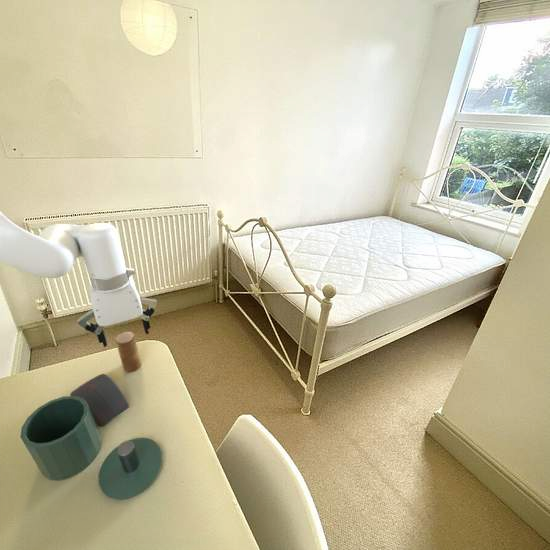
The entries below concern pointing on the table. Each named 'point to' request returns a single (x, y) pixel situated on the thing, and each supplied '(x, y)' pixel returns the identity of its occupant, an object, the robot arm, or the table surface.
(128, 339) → the brown cylinder
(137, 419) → the table surface
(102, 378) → the dark grey flat block
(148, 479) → the tin lid
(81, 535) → the table surface
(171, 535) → the table surface
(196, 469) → the table surface
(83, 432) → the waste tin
